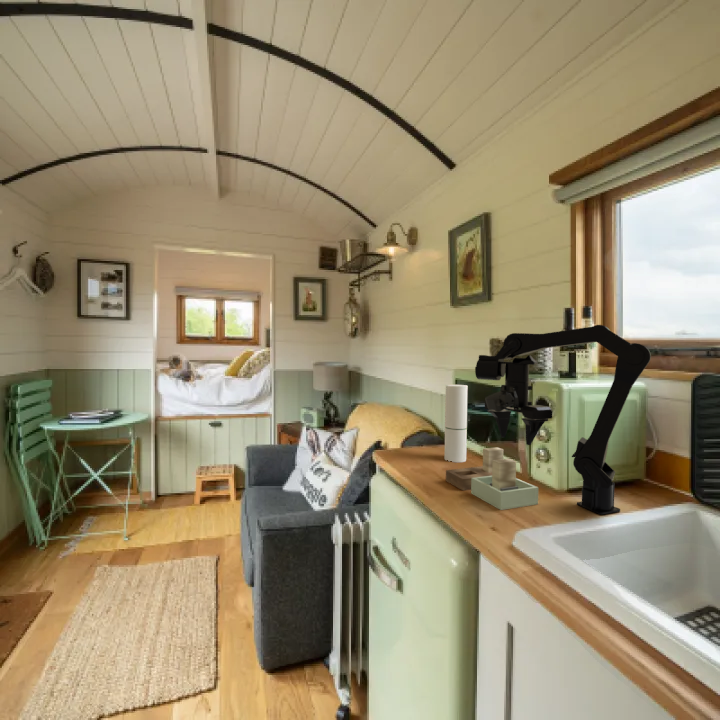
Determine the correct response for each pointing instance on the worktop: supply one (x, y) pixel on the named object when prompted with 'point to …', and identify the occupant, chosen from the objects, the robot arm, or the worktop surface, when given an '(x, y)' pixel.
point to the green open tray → (504, 493)
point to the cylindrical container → (456, 423)
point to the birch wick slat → (503, 473)
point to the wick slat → (491, 457)
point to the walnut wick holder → (465, 476)
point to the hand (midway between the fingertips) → (515, 440)
